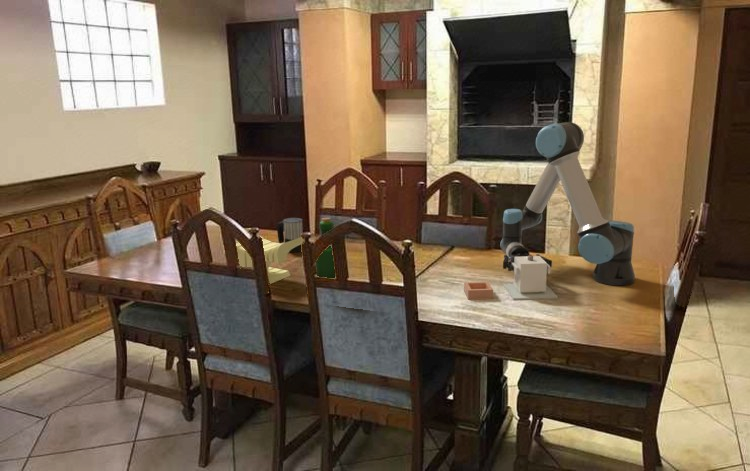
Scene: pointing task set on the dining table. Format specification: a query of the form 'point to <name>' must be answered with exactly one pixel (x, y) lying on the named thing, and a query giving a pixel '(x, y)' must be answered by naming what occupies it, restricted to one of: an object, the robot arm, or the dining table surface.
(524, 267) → the cover
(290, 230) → the milk frother
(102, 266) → the dining table surface
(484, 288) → the dish
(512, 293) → the mat
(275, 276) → the slatted curved stool
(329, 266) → the bottle
